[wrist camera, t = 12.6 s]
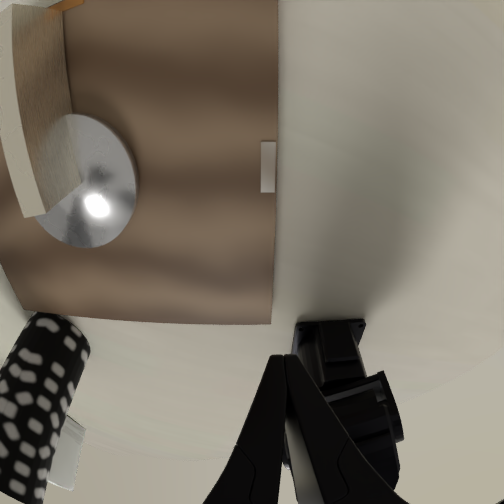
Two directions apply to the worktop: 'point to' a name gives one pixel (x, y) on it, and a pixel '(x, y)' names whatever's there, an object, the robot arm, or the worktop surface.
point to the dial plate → (167, 165)
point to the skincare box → (67, 455)
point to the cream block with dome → (58, 138)
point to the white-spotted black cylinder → (37, 402)
